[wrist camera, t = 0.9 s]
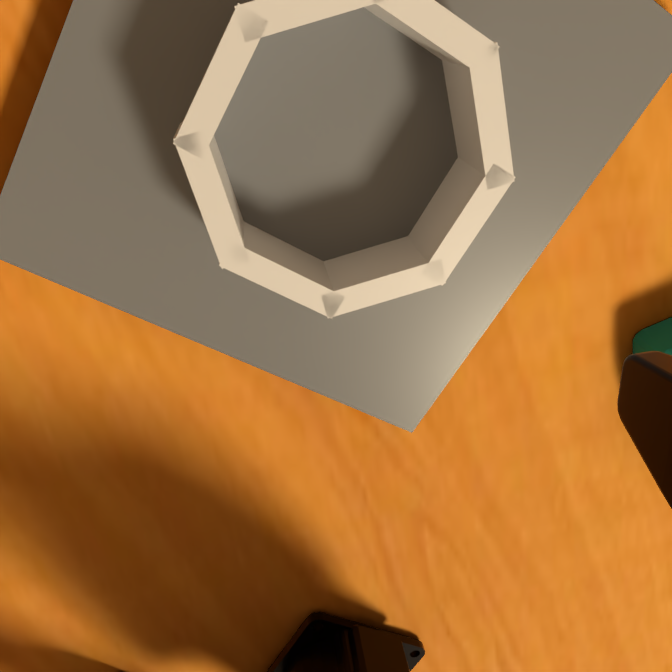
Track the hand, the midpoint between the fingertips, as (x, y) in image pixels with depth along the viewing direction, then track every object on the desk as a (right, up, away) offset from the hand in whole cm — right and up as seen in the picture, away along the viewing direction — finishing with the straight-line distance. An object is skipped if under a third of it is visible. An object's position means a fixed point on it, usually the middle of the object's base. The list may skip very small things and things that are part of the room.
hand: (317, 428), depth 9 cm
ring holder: (0, +8, +11) cm, 14 cm away
